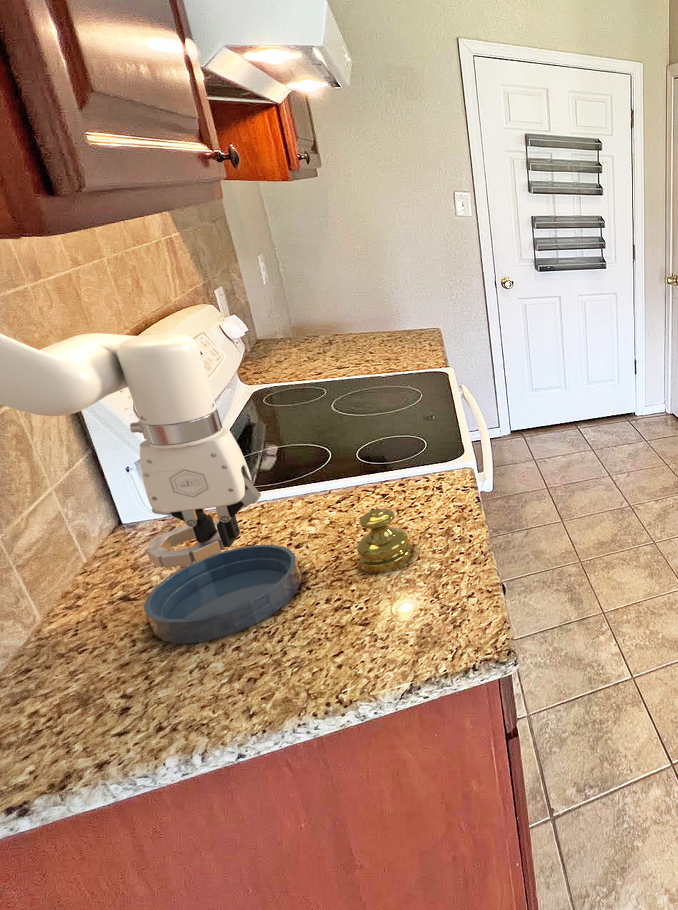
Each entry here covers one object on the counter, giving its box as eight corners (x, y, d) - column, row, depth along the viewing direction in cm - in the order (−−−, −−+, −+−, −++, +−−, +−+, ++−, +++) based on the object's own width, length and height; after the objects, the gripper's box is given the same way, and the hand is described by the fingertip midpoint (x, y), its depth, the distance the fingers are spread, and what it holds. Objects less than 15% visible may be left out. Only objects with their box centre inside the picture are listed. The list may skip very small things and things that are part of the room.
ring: (139, 571, 76) (134, 560, 76) (171, 536, 84) (167, 526, 83) (216, 560, 79) (212, 549, 78) (240, 527, 86) (237, 517, 86)
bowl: (127, 661, 75) (115, 634, 74) (189, 579, 91) (181, 556, 89) (281, 631, 81) (272, 606, 79) (316, 559, 96) (309, 536, 94)
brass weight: (372, 583, 91) (359, 530, 87) (354, 563, 95) (341, 512, 92) (419, 561, 96) (409, 511, 92) (401, 543, 101) (390, 494, 97)
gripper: (88, 445, 70) (137, 569, 76) (244, 432, 75) (277, 549, 82) (124, 422, 76) (166, 537, 83) (265, 411, 82) (294, 520, 88)
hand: (221, 542), depth 82 cm, fingers closed on ring, 1 cm apart
